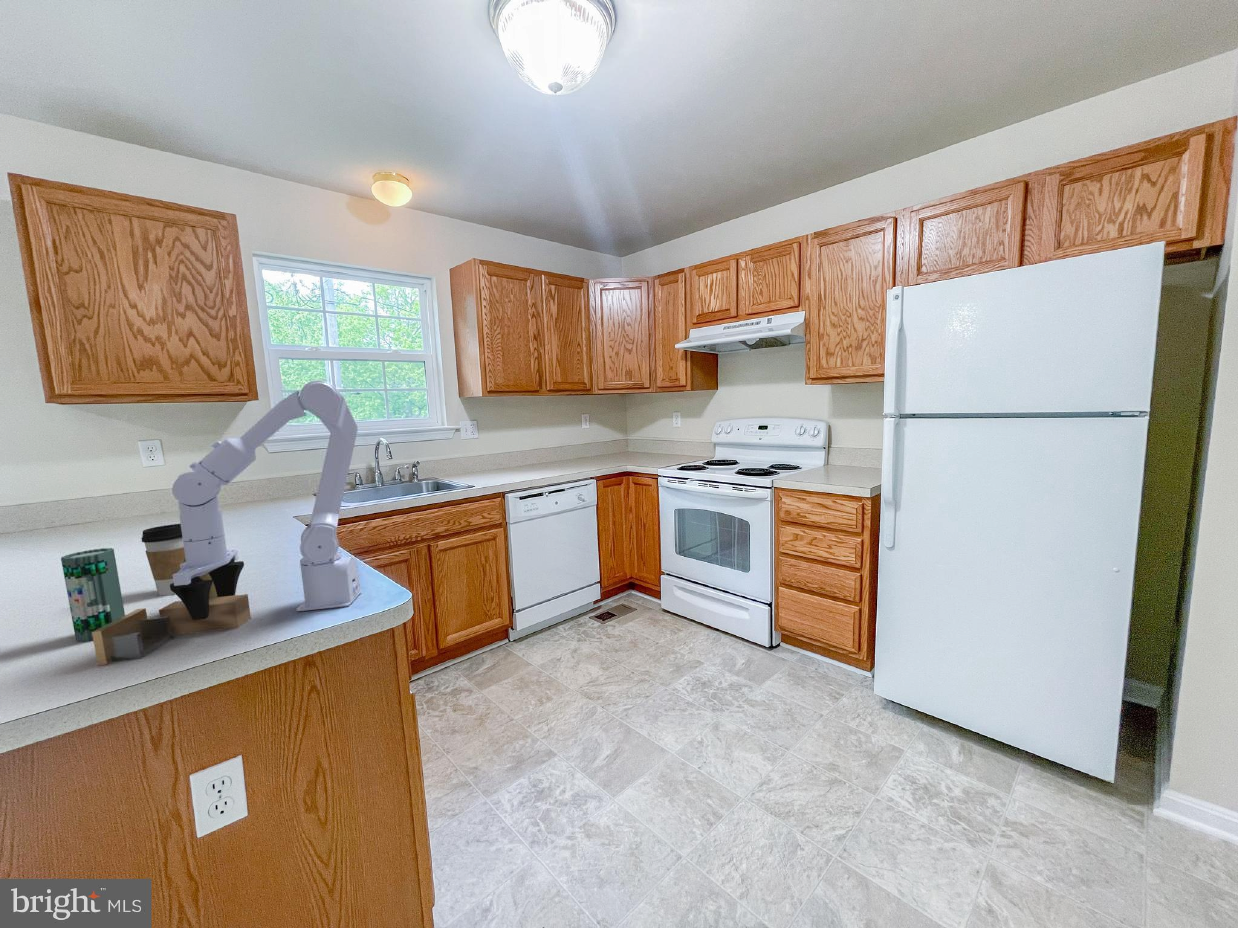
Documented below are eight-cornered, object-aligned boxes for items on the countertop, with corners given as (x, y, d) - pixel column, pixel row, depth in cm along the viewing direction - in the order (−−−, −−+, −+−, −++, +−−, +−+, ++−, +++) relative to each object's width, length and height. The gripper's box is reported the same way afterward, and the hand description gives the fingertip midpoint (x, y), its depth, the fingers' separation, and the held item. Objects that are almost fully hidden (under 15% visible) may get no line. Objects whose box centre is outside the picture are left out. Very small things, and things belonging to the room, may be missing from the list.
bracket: (176, 635, 86) (171, 605, 85) (136, 660, 77) (130, 627, 76) (142, 639, 85) (137, 608, 84) (97, 665, 76) (91, 632, 76)
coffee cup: (177, 597, 105) (167, 529, 103) (139, 598, 105) (128, 531, 104) (210, 583, 114) (201, 520, 112) (175, 584, 114) (165, 521, 112)
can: (66, 641, 85) (51, 558, 84) (104, 626, 91) (91, 548, 90) (99, 641, 85) (84, 557, 83) (135, 625, 91) (122, 547, 89)
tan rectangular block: (251, 619, 92) (247, 594, 91) (238, 628, 88) (234, 602, 87) (179, 627, 90) (175, 601, 89) (163, 637, 86) (158, 609, 85)
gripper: (205, 529, 94) (215, 597, 95) (147, 550, 79) (159, 629, 81) (246, 526, 95) (255, 593, 96) (196, 546, 81) (207, 624, 82)
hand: (214, 610), depth 89 cm, fingers open, 7 cm apart
